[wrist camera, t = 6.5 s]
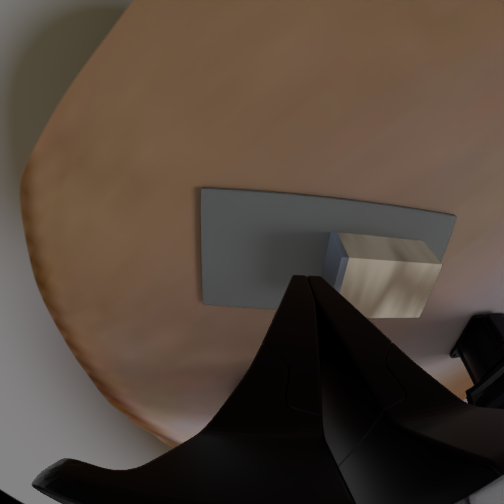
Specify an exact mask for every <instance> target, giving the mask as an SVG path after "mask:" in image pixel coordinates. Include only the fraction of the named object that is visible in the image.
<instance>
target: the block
mask: <svg viewBox="0 0 504 504" xmlns="http://www.w3.org/2000/svg"><path fill="white" fill-rule="evenodd" d="M442 265H443V264H442V263H441V262H440V261H439V259H438V258H437V257H436V256H435V255H434V253H433V252H432V251H431V250H430V249H429V247H428V246H427V245H426V244H425V243H424V242H423V241H420V240H410V239H401V238H391V237H381V236H371V235H360V234H350V233H339V232H331V233H330V238H329V243H328V248H327V252H326V257H325V262H324V266H323V271H322V275H321V277H322V278H324V279H325V280H326V281H327V282H328V283H329V284H330V285H331V286H332V287H333V288H335V289H336V290H337V291H338V292H339V293H340V294H341V295H342V296H343V297H344V298H346V299H347V300H348V301H349V302H350V303H351V304H352V305H353V306H354V307H355V308H356V309H357V310H359V311H360V312H361V313H362V314H363V315H364V316H365V317H366V318H419V317H420V315H421V313H422V310H423V308H424V306H425V304H426V302H427V300H428V298H429V295H430V293H431V291H432V289H433V286H434V284H435V282H436V279H437V277H438V274H439V272H440V270H441V267H442Z"/></svg>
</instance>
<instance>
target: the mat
mask: <svg viewBox="0 0 504 504" xmlns="http://www.w3.org/2000/svg"><path fill="white" fill-rule="evenodd" d="M456 218H457V217H456V216H455V215H451V214H445V213H440V212H434V211H428V210H422V209H415V208H409V207H402V206H395V205H388V204H381V203H374V202H366V201H358V200H350V199H341V198H332V197H323V196H314V195H303V194H293V193H281V192H269V191H256V190H242V189H225V188H206V187H202V188H201V256H202V291H203V304H208V305H220V306H233V307H247V308H262V309H278V307H279V304H280V302H281V300H282V298H283V295H284V293H285V291H286V289H287V286H288V284H289V282H290V279H291V277H292V275H305V276H306V277H307V276H308V275H313V276H321V275H322V271H323V266H324V262H325V257H326V252H327V248H328V243H329V238H330V233H331V232H339V233H350V234H360V235H371V236H381V237H391V238H401V239H410V240H420V241H423V242H424V243H425V244H426V245H427V246H428V247H429V249H430V250H431V251H432V252H433V253H434V255H435V256H436V257H437V258H438V259H439V261H440V262H441V260H442V258H443V255H444V252H445V250H446V247H447V244H448V241H449V239H450V236H451V233H452V230H453V227H454V224H455V221H456Z"/></svg>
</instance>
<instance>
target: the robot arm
mask: <svg viewBox="0 0 504 504" xmlns="http://www.w3.org/2000/svg"><path fill="white" fill-rule="evenodd" d="M450 357H451V358H457V357H460V358H461V360H462V361H463V363H464V365H465V367H466V369H467V371H468V373H469V375H470V377H471V380H472V382H473V384H474V386H473V387H471V388H469V389H468V390H466V391H465V392H466V395H467V397H466V398H467V401H468V403H466V402H464V401H462V400H461V399H460V398H458V397H457V396H456V395H454V394H453V393H452V392H451V391H449V390H448V389H447V388H446V387H444V386H443V385H442V384H441V383H439V382H438V381H437V380H436V379H434V378H433V377H432V376H431V375H429V374H428V373H427V372H426V371H424V370H423V369H422V368H421V367H420V366H418V365H417V364H416V363H415V362H413V361H412V360H411V359H410V358H409V357H408V356H407V355H406V354H405V353H404V352H402V351H401V350H400V349H399V348H398V347H397V346H396V345H395V344H394V343H391V340H390V339H389V338H388V337H386V336H385V335H384V334H383V333H382V332H381V331H380V330H379V329H378V328H377V327H376V326H375V325H374V324H373V323H372V322H370V321H369V320H368V319H367V318H366V317H365V316H364V315H363V314H362V313H361V312H360V311H359V310H357V309H356V308H355V307H354V306H353V305H352V304H351V303H350V302H349V301H348V300H347V299H346V298H344V297H343V296H342V295H341V294H340V293H339V292H338V291H337V290H336V289H335V288H333V287H332V286H331V285H330V284H329V283H328V282H327V281H326V280H325V279H324V278H322V277H321V276H313V275H308V276H307V277H306V276H305V275H292V277H291V279H290V282H289V284H288V286H287V289H286V291H285V293H284V295H283V298H282V300H281V302H280V304H279V307H278V309H277V311H276V313H275V316H274V318H273V320H272V322H271V325H270V327H269V329H268V331H267V333H266V336H265V338H264V340H263V342H262V345H261V346H260V348H259V350H258V352H257V354H256V356H255V358H254V360H253V362H252V364H251V366H250V368H249V369H248V371H247V372H246V374H245V375H244V377H243V378H242V380H241V381H240V383H239V384H238V386H237V387H236V388H235V390H234V391H233V392H232V394H231V395H230V396H229V398H228V399H227V400H226V402H225V403H224V404H223V406H222V407H221V408H220V410H219V411H218V412H217V414H216V415H215V416H214V417H213V419H212V420H211V421H210V422H209V423H208V424H207V426H206V427H205V428H204V429H203V430H201V431H200V432H199V433H198V434H197V435H195V436H194V437H192V438H190V439H189V440H187V441H185V442H184V443H182V444H180V445H179V446H177V447H175V448H173V449H172V450H170V451H168V452H166V453H165V454H163V455H161V456H159V457H158V458H156V459H154V460H152V461H150V462H149V463H146V464H145V465H142V466H140V467H137V468H133V469H128V470H111V469H106V468H101V467H98V466H95V465H92V464H89V463H86V462H82V461H79V460H75V459H69V458H64V459H61V460H59V461H57V462H56V463H54V464H52V465H51V466H49V467H48V468H46V469H45V470H43V471H42V472H41V473H40V474H39V475H38V476H37V477H36V479H35V480H34V481H33V482H32V486H33V487H34V488H35V489H37V490H38V491H40V492H41V493H43V494H45V495H47V496H49V497H50V498H52V499H54V500H56V501H58V502H60V503H62V504H504V314H491V315H476V316H473V317H472V318H471V320H470V322H469V323H468V325H467V327H466V329H465V330H464V332H463V334H462V335H461V337H460V339H459V340H458V342H457V343H456V345H455V347H454V348H453V350H452V351H451V353H450ZM0 504H24V503H22V502H21V501H19V500H17V499H16V498H14V497H12V496H10V495H9V494H7V493H5V492H4V491H2V490H1V489H0Z"/></svg>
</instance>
